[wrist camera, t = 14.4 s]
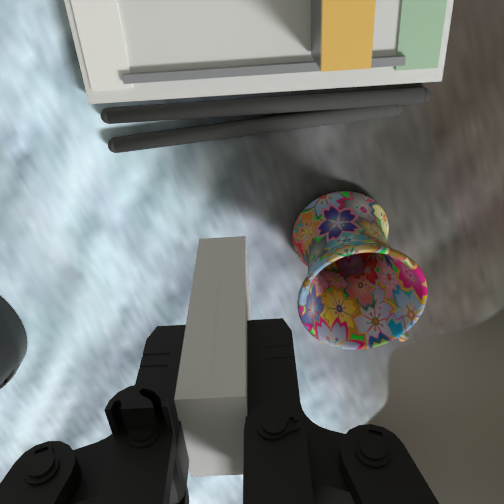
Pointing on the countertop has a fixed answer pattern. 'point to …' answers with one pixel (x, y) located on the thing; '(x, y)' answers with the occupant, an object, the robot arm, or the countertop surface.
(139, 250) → the countertop surface
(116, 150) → the cable
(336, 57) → the block
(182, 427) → the robot arm
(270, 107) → the cable
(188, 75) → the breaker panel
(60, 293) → the countertop surface
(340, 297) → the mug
